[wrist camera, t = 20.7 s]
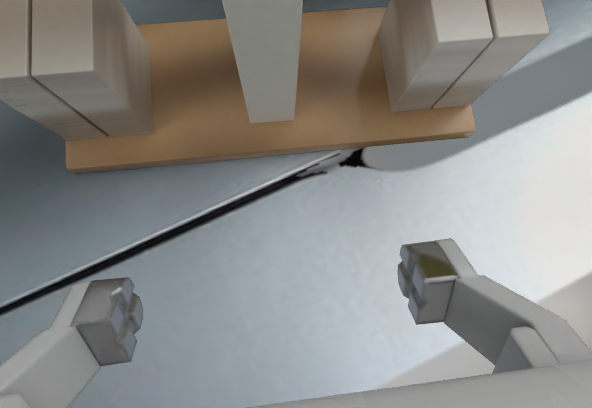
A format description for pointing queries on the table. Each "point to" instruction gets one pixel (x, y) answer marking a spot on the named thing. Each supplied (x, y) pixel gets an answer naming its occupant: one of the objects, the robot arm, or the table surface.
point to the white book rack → (227, 86)
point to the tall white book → (266, 55)
